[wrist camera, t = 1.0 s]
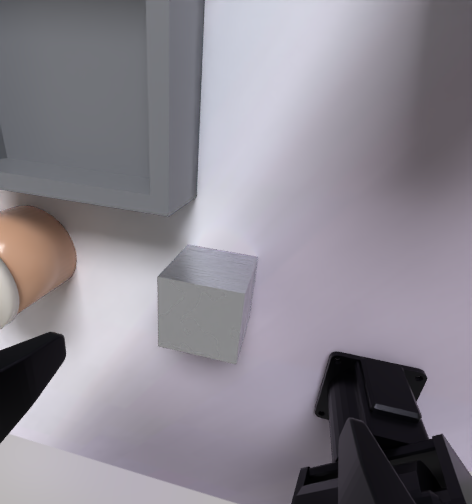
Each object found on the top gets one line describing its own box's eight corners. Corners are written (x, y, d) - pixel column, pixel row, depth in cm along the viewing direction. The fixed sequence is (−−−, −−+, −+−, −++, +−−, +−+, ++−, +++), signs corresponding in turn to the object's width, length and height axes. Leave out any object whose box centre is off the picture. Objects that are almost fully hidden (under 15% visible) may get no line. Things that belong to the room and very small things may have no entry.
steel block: (249, 316, 23) (236, 364, 18) (186, 303, 24) (158, 346, 19) (258, 256, 21) (245, 293, 16) (188, 244, 22) (157, 276, 17)
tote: (196, 196, 20) (168, 216, 16) (10, 169, 22) (-56, 180, 18) (208, -101, 14) (169, -190, 10) (-46, -100, 16) (-163, -174, 12)
